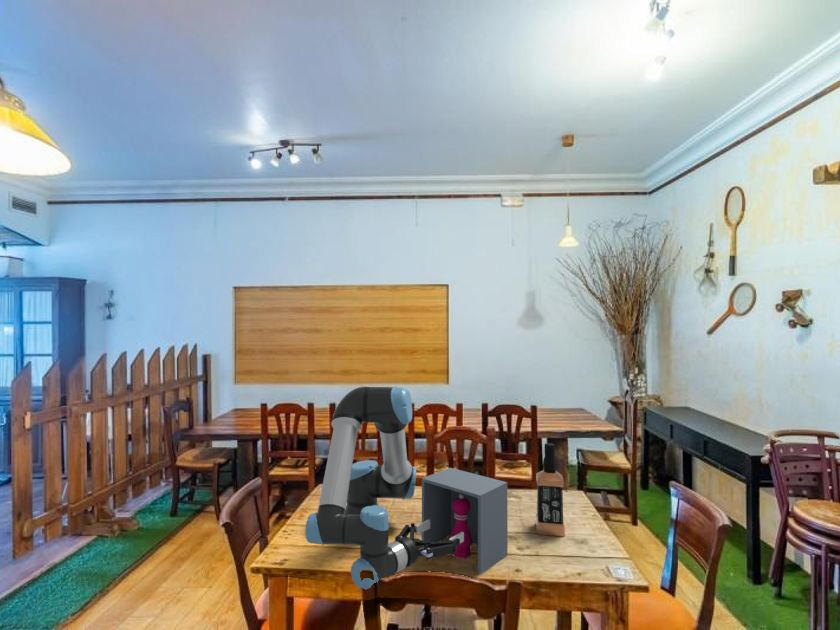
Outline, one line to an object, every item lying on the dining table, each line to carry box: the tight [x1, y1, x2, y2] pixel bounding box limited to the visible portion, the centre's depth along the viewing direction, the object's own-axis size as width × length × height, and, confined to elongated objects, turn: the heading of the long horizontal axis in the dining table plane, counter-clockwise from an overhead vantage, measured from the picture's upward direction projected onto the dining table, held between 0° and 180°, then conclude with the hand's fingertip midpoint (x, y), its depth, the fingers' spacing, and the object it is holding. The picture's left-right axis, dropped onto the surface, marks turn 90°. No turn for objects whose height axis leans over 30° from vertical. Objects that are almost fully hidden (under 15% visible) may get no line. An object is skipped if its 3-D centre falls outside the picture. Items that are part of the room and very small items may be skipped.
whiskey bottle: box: [535, 442, 566, 537], centre depth 171 cm, size 10×10×32 cm
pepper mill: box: [450, 493, 472, 559], centre depth 152 cm, size 7×7×20 cm
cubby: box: [421, 467, 508, 575], centre depth 154 cm, size 24×16×24 cm, turn 49°
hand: (445, 529), depth 146 cm, fingers open, 13 cm apart
